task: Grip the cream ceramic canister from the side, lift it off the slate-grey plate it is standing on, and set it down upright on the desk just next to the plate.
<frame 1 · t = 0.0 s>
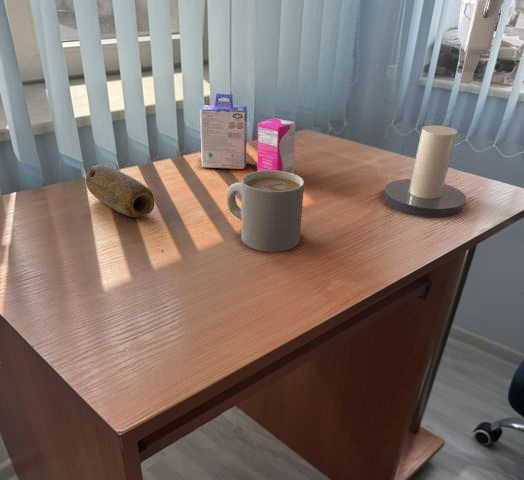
hand: (463, 77, 89), 23 cm above the table, tool pointing down, fingers open, 8 cm apart
cream canister: (424, 192, 104), point 2 cm above the table, touching slate plate
supplement box: (274, 179, 113), on the table
ink cartridge box: (224, 166, 118), on the table
coffee mug: (262, 236, 90), on the table
slate plate: (422, 201, 105), on the table, touching cream canister
stone weight: (121, 209, 97), on the table
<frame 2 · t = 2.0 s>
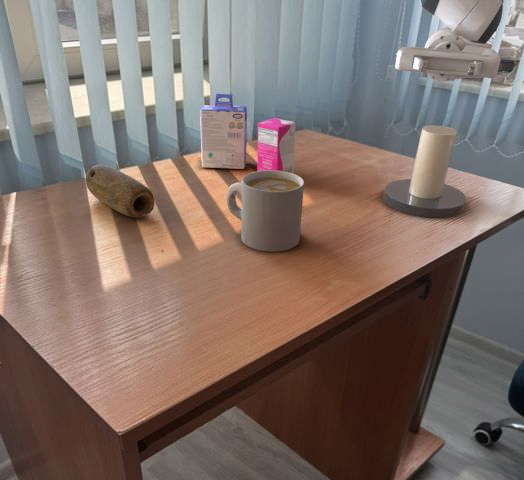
hand: (447, 68, 100), 22 cm above the table, tool horizontal, fingers open, 8 cm apart
nothing on the table moved.
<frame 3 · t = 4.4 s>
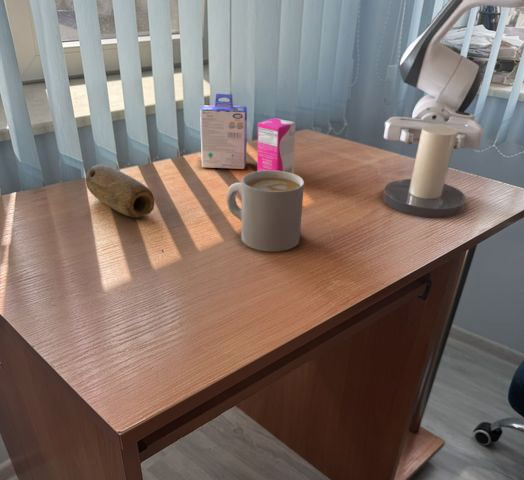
hand: (432, 142, 107), 9 cm above the table, tool horizontal, fingers open, 8 cm apart
nothing on the table moved.
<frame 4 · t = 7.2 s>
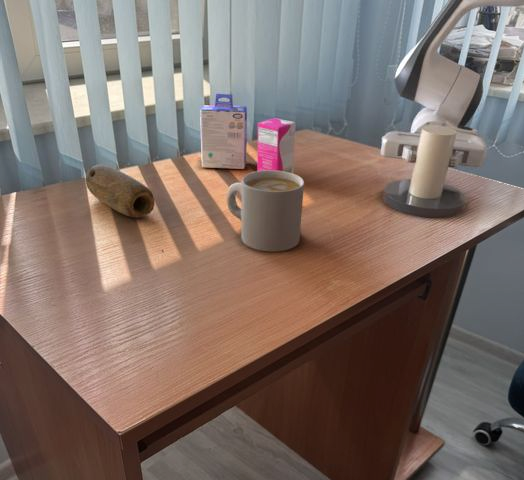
hand: (432, 160, 99), 8 cm above the table, tool horizontal, fingers closed on cream canister, 6 cm apart
cream canister: (424, 192, 104), point 2 cm above the table, touching gripper, slate plate
everything else where it was.
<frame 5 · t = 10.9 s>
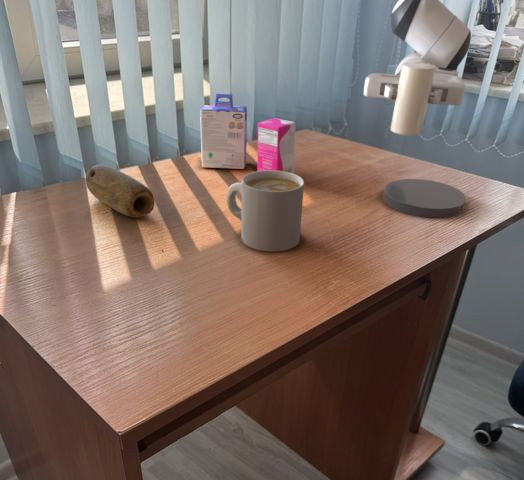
hand: (412, 97, 102), 17 cm above the table, tool horizontal, fingers closed on cream canister, 6 cm apart
cream canister: (405, 130, 107), point 11 cm above the table, touching gripper
slate plate: (422, 201, 105), on the table
everything else where it was.
when the fingers open (7 cm above the table, at t = 15.0 s): cream canister stays where it is, on the table.
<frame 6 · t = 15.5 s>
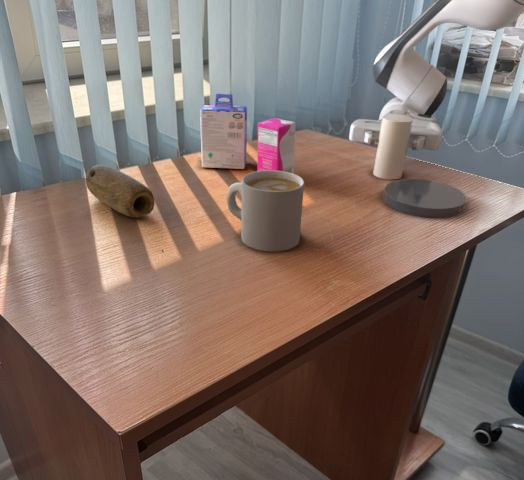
hand: (393, 144, 112), 7 cm above the table, tool horizontal, fingers open, 8 cm apart
cream canister: (387, 174, 117), on the table
everything else where it was.
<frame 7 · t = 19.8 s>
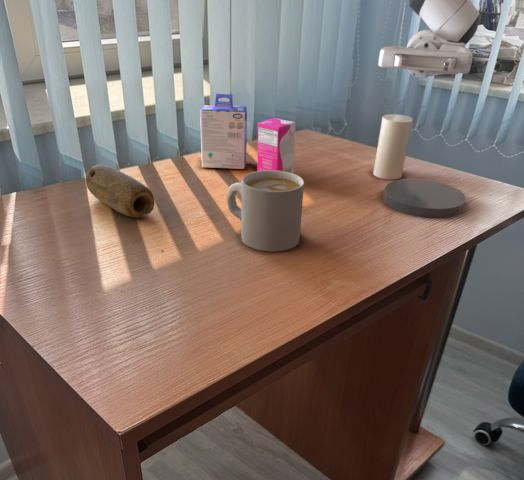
hand: (424, 64, 112), 21 cm above the table, tool horizontal, fingers open, 8 cm apart
nothing on the table moved.
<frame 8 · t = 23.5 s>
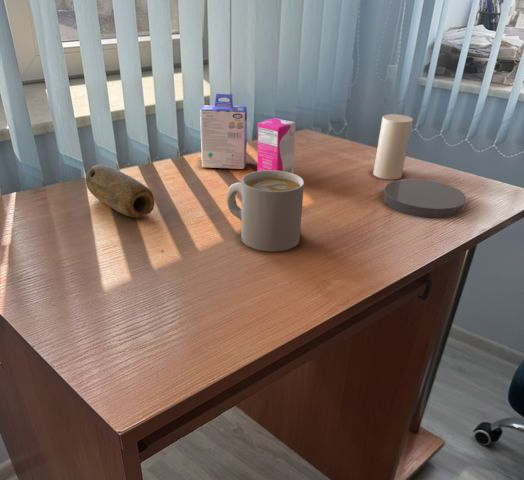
nothing on the table moved.
at the end: cream canister inside the target area (0.1 cm from its centre), on the table; cream canister tilted 0°; slate plate moved 0.0 cm from its start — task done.
